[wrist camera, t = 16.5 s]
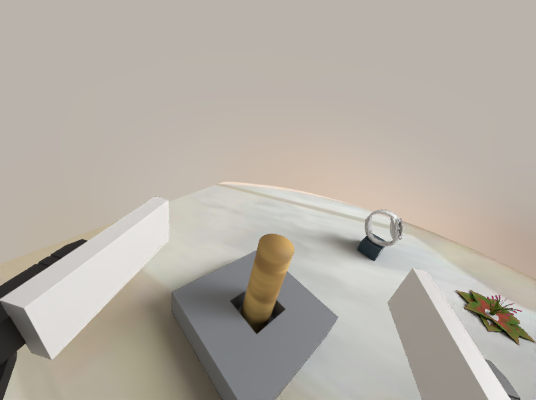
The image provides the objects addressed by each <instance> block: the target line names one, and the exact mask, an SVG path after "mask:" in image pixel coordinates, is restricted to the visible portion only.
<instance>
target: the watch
mask: <svg viewBox="0 0 536 400" xmlns="http://www.w3.org/2000/svg"><path fill="white" fill-rule="evenodd" d="M376 213H377V214H378V213H381V214H386V215H388V216H390V217H391V224H390V233H391V236H392V238H393V241H390V242H386V241H385V240H383V239H381V238H379V237H378V236H376V235H374V234H372V233H371V232H372V228H371V220H372V215H373V214H376ZM365 232H366V235H367V236H366V237H365V238H364V239H363V240H362V242H361V244H360V245H359V247H358V249H357V250H358V251H360V252H361V253H363V254H364V255H366V256H367V257H369V258H371V259H372V260H374V261H375V260H376V258H377V257H378V256H379V255H380V253H381V252H382V250H383V249H384V247H385V246H391V245H393V244H395V243H396V242H397V240H401V238H402V233H403V226H402V220H401V219H400V218H398V217H397V215H396V214H395V213H393V212H391V211H388V210H377V211H375V212H373V213H372V214H370V215H369V216H368V217H367V219H366V221H365Z"/></svg>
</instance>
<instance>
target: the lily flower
mask: <svg viewBox="0 0 536 400" xmlns="http://www.w3.org/2000/svg"><path fill="white" fill-rule="evenodd" d="M456 291H457V290H456ZM457 292H459V291H457ZM471 292H472V294H473V296H474V297H473V296H472V295H470V294H468V293H465V292H459V293H460V294H461V295H462V296H463V297H464V298H465V299H466V300H467V301H468V302H469V304H468V305H467V307H464V308H466V309H469V310H471V311H474V312H476V313H479V315H480V317H481V319H482V320H483V322H484V324H485V325H486V327H487V329H488V331H502V330H503V329H504V330H505V331H506V332H507V333H508V334H509V335H510V336H511V337H512V338H513V339H514V340H515V341H516V342H517V344H518V345H519V339H518V338H519V336H522V337H524V338H526V339H529V340H532V341H533V342H535V341H534V340H533V339H532V338H531V337H530V336H528V334H527V333H526V332H525V331H524V330H523V329H522V328H521V327H519V326H518V325H516V324H519V323H520V322H519V320H517V318H515V317H514V316H513V315H514V314H512V313H510V312H509V311H507V310H509V309H510V311H513V310H516V309H513V308H509V309H508V308H504V307H503V308H502V306H501V305H502V304H503V303H504V302H503V303H502V304H501V303H500V304H501V305H500V304H499V302H500V295H499V301H498V297H497V296H496V295H495V297H496V299H497V300H496V299H494V298H493V296H492V298H493V299H489V297H487V298H485V297H484V296H482V295H480V294H478V293H475V292H473V291H472V290H471ZM506 299H507V298H506ZM506 299H505V300H506ZM502 301H503V300H502ZM513 304H514V303H513ZM510 305H512V304H510ZM506 306H508V305H506ZM506 306H505V307H506ZM485 309H488V310H490V314H491V315H495V314H496V315H497V316H498V317H499V320H498V321H496V320H494V319H493V318H491V317H490V316H488V315H487V314H485ZM517 311H521V310H517ZM513 312H515V311H513ZM521 312H522V311H521ZM515 313H517V312H515ZM485 317H487V318H489V319H492V320H493V321H494V322H495V323H496V324H493V325H492V324H490V325H489V322H488V321H487V319H486V318H485ZM508 323H509V324H508ZM517 331H518V332H517ZM535 343H536V342H535Z"/></svg>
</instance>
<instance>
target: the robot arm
mask: <svg viewBox="0 0 536 400" xmlns="http://www.w3.org/2000/svg"><path fill="white" fill-rule="evenodd" d="M168 240H169V201H168V200H167V199H163V198H160V197H156V196H155V197H154V198H152V199H151V200H149V201H148V202H146V203H145V204H143V205H141V206H140V207H138V208H137V209H135V210H134V211H132V212H131V213H129V214H128V215H126V216H125V217H124V218H122V219H120V220H119V221H117V222H116V223H114V224H113V225H111V226H110V227H108V228H107V229H105V230H104V231H102V232H101V233H99V234H98V235H96V236H95V237H93V238H92V239H90V240H89V241H87V240H83V239H81V240H79V241H76V242H73V243H71V244H68V245H65V246H64V247H62V248H61V249H59V250H57V251H56V252H54V253H53V254H51V256H50V257H49V256H48V257H46V258H44V259H43V260H41V261H40V262H39V263H38V264H35V265H33V266H32V267H30V268H28V269H27V270H25V271H24V272H22V273H20V274H19V275H17V276H15V277H14V278H12V279H11V280H9V281H7V282H6V283H4V284H3V285H1V286H0V400H3V398H4V395H5V392H6V389H7V386H8V383H9V380H10V377H11V374H12V371H13V368H14V365H15V362H16V359H17V352H16V351H17V350H19V349H20V348H21V347H22V346H23V345H24V344H25V343H26V345H27V346H28V348H29V350H30V351H31V353H33V354H36V355H39V356H42V357H45V358H48V359H50V360H53V359H54V358H55V356H56V355H57V354H58V353H59V352H60V351H61V350H62V349H63V348H64V347H65V346H66V345H67V344H68V343H69V342H70V341H71V340H72V339H73V338H74V337H75V336H76V335H77V334H78V333H79V332H80V331H81V330H82V329H83V328H84V327H85V326H86V325H87V324H88V323H89V322H90V320H91V319H92V318H93V317H94V316H95V315H96V314H97V313H98V312H99V311H100V310H101V309H102V308H103V307H104V306H105V305H106V304H107V303H108V302H109V301H110V300H111V299H112V298H113V297H114V296H115V295H116V294H117V293H118V292H119V291H120V290H121V289H122V288H123V287H124V285H125V284H126V283H127V282H128V281H129V280H130V279H131V278H132V277H133V276H134V275H135V274H136V273H137V272H138V271H139V270H140V269H141V268H142V267H143V266H144V265H145V264H146V263H147V262H148V261H149V260H150V259H151V258H152V257H153V256H154V255H155V254H156V253H157V252H158V250H159V249H160V248H161V247H162V246H163V245H164V244H165V243H166V242H167V241H168ZM388 306H389V309H390V311H391V314H392V317H393V320H394V323H395V325H396V328H397V331H398V334H399V337H400V339H401V342H402V345H403V348H404V350H405V353H406V356H407V359H408V362H409V364H410V367H411V370H412V373H413V376H414V378H415V381H416V384H417V387H418V389H419V392H420V395H421V398H422V400H520V397H519V396H518V394H517V393H516V391H515V390H514V388H513V387H512V385H511V384H510V383H509V381H508V380H507V378H506V377H505V376H504V375H503V374H502V373H501V372H500V371H499V370H498V369H497V368H496V367H495V366H494V364H493V363H492V362H491V361H489V360H486V359H484V358H483V356H482V354H481V353H480V351H479V350H478V348H477V347H476V345H475V344H474V342H473V341H472V339H471V337H470V336H469V334H468V333H467V331H466V330H465V328H464V327H463V325H462V324H461V322H460V320H459V319H458V317H457V316H456V314H455V313H454V311H453V310H452V308H451V307H450V305H449V303H448V302H447V300H446V299H445V297H444V296H443V294H442V293H441V291H440V290H439V288H438V287H437V285H436V283H435V282H434V280H433V279H432V277H431V276H430V274H429V273H428V272H426V271H422V270H418V269H415V268H412V270H411V271H410V272H409V274H408V275H407V277H406V278H405V279H404V281H403V282H402V283H401V285H400V286H399V288H398V289H397V290H396V292H395V293H394V294H393V296H392V297H391V299H390V300H389V301H388Z"/></svg>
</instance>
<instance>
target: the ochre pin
mask: <svg viewBox="0 0 536 400" xmlns="http://www.w3.org/2000/svg"><path fill="white" fill-rule="evenodd" d="M293 253H294V246H293V244H292V243H291V242H290V241H289V240H288V239H287V238H285V237H283V236H281V235H277V234H267V235H264V236H262V237H261V238H260V240H259V244H258V248H257V252H256V256H255V259H254V263H253V267H252V271H251V275H250V279H249V283H248V287H247V291H246V294H245V298H244V302H243V306H242V310H241V315H242V317H243V318H244V319H245V320H246V322H247V323H248V324H249V326H250V327H251V328H252V329H253V331H254V332H255V333H256V334H258V333H259V332H260V331H261V330H262V329H264V328H265V327H266V326H267V324H268V321H269V319H270V316H271V313H272V310H273V308H274V305H275V302H276V300H277V297H278V294H279V291H280V289H281V286H282V283H283V280H284V278H285V275H286V272H287V270H288V267H289V264H290V261H291V259H292V256H293Z"/></svg>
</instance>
